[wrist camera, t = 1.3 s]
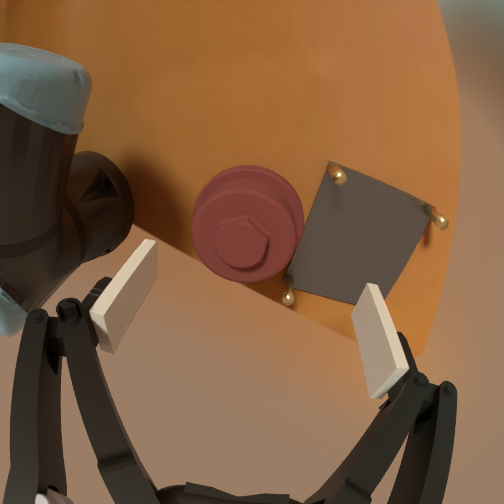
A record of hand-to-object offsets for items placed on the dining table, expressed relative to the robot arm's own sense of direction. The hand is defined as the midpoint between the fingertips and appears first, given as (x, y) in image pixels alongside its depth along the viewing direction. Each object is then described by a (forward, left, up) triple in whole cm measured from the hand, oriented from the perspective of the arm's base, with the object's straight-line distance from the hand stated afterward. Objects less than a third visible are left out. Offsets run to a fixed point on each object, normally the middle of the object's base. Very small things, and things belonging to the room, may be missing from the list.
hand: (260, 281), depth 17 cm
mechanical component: (-2, -1, -17) cm, 17 cm away
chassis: (+12, -3, -17) cm, 21 cm away
